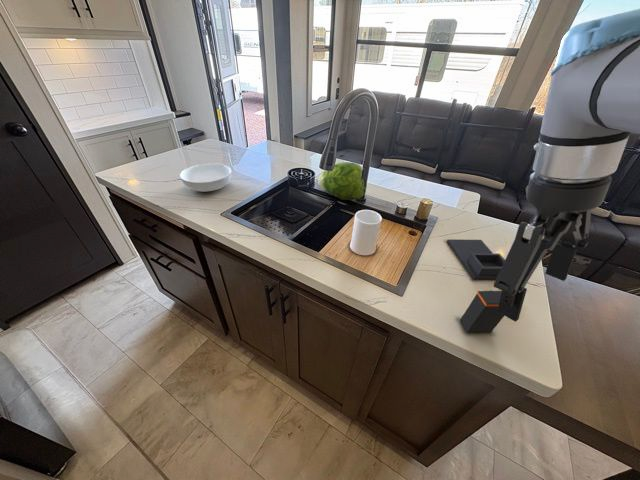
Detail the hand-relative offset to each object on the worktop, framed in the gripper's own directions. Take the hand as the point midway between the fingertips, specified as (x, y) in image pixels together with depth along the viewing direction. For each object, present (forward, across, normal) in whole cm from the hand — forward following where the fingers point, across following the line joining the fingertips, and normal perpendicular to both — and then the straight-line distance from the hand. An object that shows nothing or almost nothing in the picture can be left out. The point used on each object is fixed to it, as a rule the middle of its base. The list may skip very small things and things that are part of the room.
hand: (532, 295), depth 43 cm
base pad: (+20, -26, -25) cm, 42 cm away
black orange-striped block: (+20, -3, -10) cm, 23 cm away
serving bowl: (-9, +36, -109) cm, 116 cm away
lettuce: (+6, -11, -79) cm, 80 cm away
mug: (+11, +1, -47) cm, 48 cm away
